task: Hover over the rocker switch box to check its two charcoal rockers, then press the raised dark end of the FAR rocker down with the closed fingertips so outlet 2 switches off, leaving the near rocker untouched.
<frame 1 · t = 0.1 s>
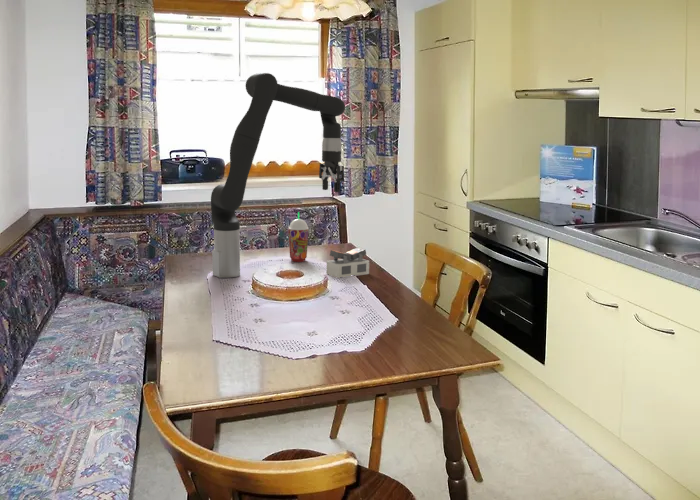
hand: (331, 190, 271), 29 cm above the table, tool pointing down, fingers open, 8 cm apart
rocker switch box: (347, 273, 258), on the table
smoothie: (298, 261, 280), on the table
rocker 1: (340, 255, 254), point 8 cm above the table, hinge at 15.0°
rocker 2: (355, 253, 258), point 8 cm above the table, hinge at -15.0°
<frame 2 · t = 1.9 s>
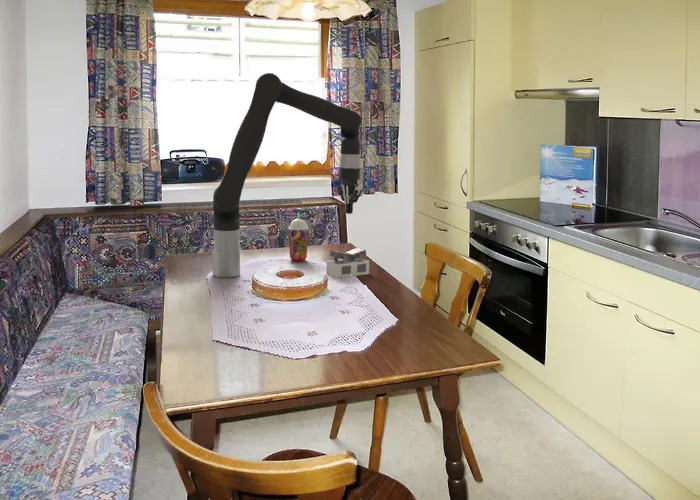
hand: (349, 213, 253), 23 cm above the table, tool pointing down, fingers closed
nothing on the table moved.
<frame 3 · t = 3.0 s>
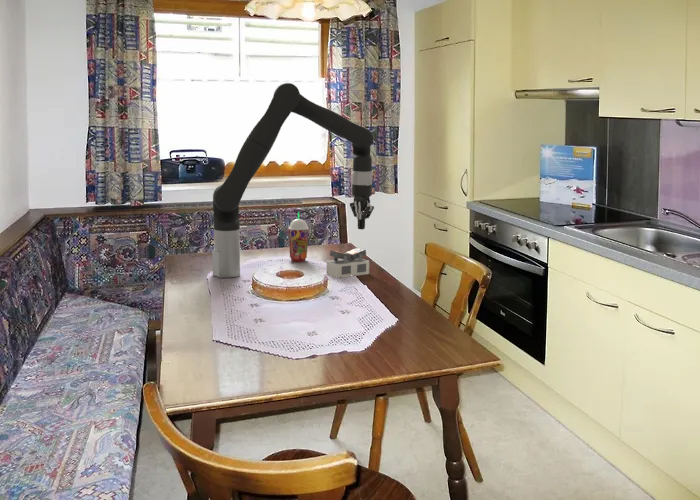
hand: (361, 229, 258), 17 cm above the table, tool pointing down, fingers closed
nothing on the table moved.
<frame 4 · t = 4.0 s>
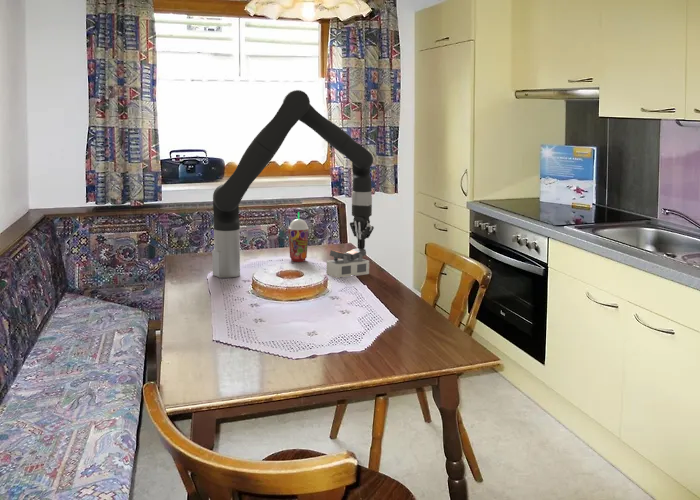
hand: (361, 248, 259), 9 cm above the table, tool pointing down, fingers closed
rocker 2: (355, 253, 258), point 8 cm above the table, hinge at -14.3°, touching gripper
everything else where it was.
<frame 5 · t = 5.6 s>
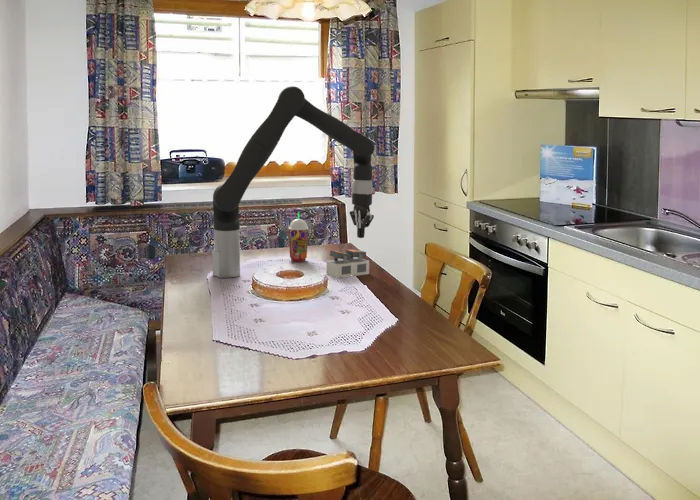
hand: (360, 237, 258), 13 cm above the table, tool pointing down, fingers closed
rocker 2: (355, 253, 258), point 8 cm above the table, hinge at 5.2°
everything else where it was.
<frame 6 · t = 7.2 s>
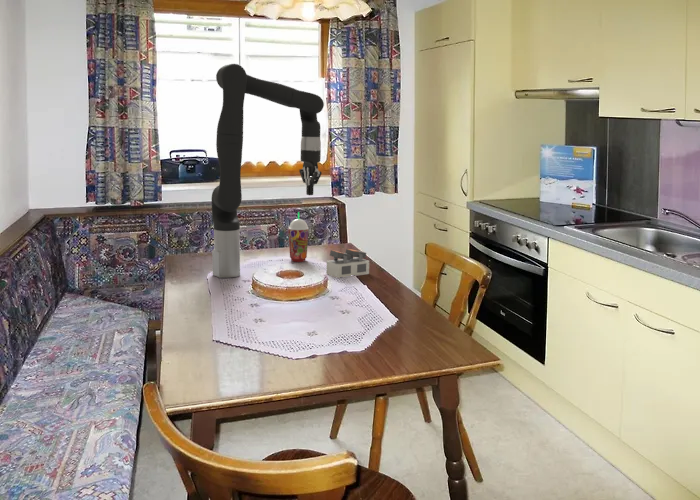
hand: (309, 195, 260), 29 cm above the table, tool pointing down, fingers closed
rocker 2: (355, 253, 258), point 8 cm above the table, hinge at 10.8°
everything else where it was.
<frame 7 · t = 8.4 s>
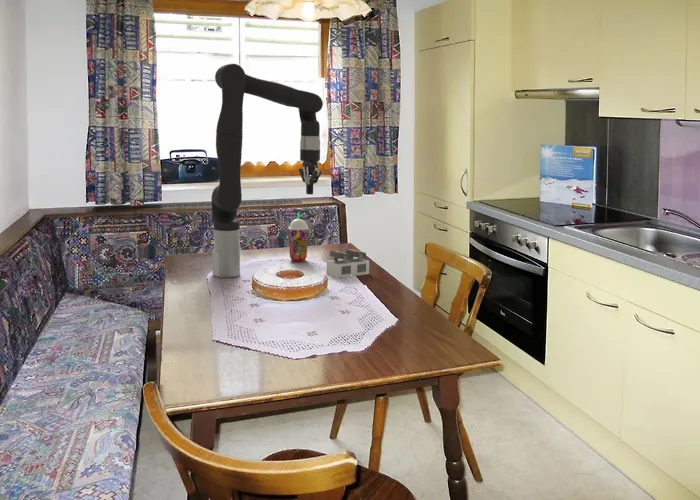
hand: (309, 194, 260), 29 cm above the table, tool pointing down, fingers closed
rocker 2: (355, 253, 258), point 8 cm above the table, hinge at 12.1°
everything else where it was.
at the end: rocker 2 at +12° (first picture: -15°); rocker 1 at +15° (first picture: +15°) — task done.
